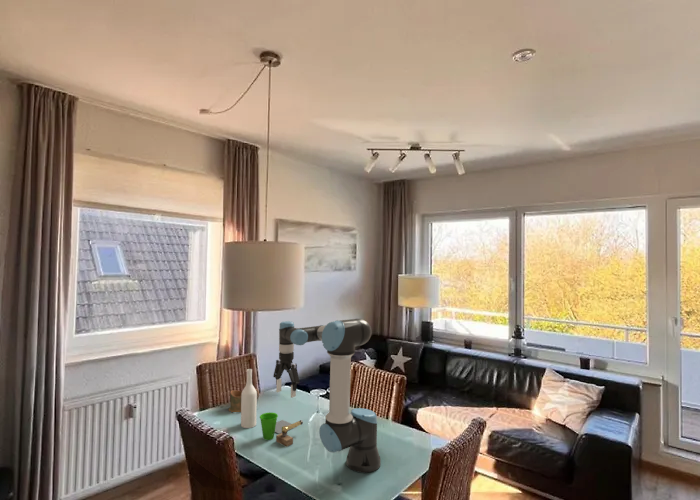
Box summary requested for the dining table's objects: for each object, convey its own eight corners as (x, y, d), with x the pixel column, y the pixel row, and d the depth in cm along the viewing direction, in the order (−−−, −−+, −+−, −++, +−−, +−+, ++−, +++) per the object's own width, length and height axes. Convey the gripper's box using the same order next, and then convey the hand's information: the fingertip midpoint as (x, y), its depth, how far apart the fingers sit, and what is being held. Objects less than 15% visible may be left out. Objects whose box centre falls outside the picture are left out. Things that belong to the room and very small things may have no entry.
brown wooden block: (293, 443, 190) (293, 434, 190) (286, 446, 187) (286, 437, 187) (282, 438, 196) (282, 429, 196) (276, 441, 192) (276, 432, 193)
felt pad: (296, 426, 209) (296, 426, 209) (279, 434, 200) (279, 433, 200) (282, 420, 217) (282, 419, 217) (264, 427, 208) (264, 426, 208)
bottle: (245, 429, 205) (245, 372, 206) (238, 424, 211) (239, 369, 212) (259, 425, 211) (259, 369, 211) (252, 420, 217) (252, 366, 217)
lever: (284, 433, 191) (284, 428, 191) (280, 431, 193) (280, 427, 193) (304, 424, 201) (304, 420, 201) (300, 423, 203) (300, 418, 203)
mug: (256, 413, 227) (256, 392, 227) (225, 412, 227) (226, 392, 228) (260, 405, 239) (261, 385, 239) (232, 405, 239) (232, 385, 239)
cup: (273, 443, 191) (273, 420, 191) (256, 441, 193) (256, 418, 193) (280, 434, 200) (280, 413, 200) (263, 433, 202) (264, 411, 202)
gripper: (307, 354, 198) (306, 397, 198) (277, 346, 213) (277, 387, 213) (295, 356, 192) (295, 401, 192) (266, 349, 207) (266, 390, 207)
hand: (285, 394), depth 202 cm, fingers open, 11 cm apart
